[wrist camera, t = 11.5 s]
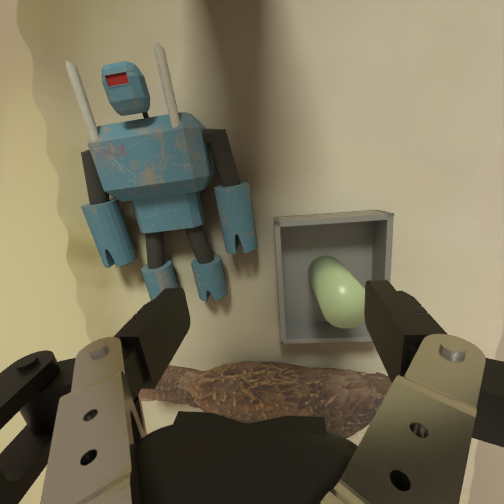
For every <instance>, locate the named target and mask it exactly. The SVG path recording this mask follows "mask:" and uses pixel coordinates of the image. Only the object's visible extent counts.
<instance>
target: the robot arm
mask: <svg viewBox="0 0 504 504" xmlns="http://www.w3.org/2000/svg"><path fill="white" fill-rule="evenodd" d="M364 318H365V324H366V328H367V330H368V332H369V334H370V337H371V339H372V341H373V343H374V345H375V347H376V350H377V352H378V354H379V356H380V358H381V360H382V363H383V365H384V367H385V369H386V371H387V373H388V376H389V378H390V380H391V382H392V385H391V387H390V389H389V390H388V392H387V394H386V396H385V398H384V400H383V401H382V403H381V405H380V407H379V409H378V411H377V412H376V414H375V416H374V418H373V420H372V422H371V423H370V425H369V427H368V429H367V431H366V433H365V434H364V436H363V438H362V440H361V442H360V444H359V446H357V445H356V444H354V443H353V442H351V441H349V440H347V439H346V438H344V437H341V436H339V435H337V434H335V433H332V432H328V431H326V424H325V417H310V416H282V417H277V418H272V419H267V420H262V421H258V422H253V423H243V422H240V421H236V420H233V419H230V418H227V417H224V416H221V415H218V414H215V413H209V412H183V411H178V414H177V416H176V418H175V421H174V423H173V425H169V426H166V427H163V428H160V429H158V430H156V431H153V432H151V433H149V434H148V435H147V432H146V427H145V421H144V416H143V410H142V405H141V400H140V397H139V392H140V391H141V389H155V388H156V386H157V384H158V383H159V381H160V379H161V377H162V376H163V374H164V372H165V370H166V369H167V367H168V365H169V363H170V362H171V360H172V358H173V356H174V355H175V353H176V351H177V349H178V348H179V346H180V344H181V342H182V341H183V339H184V337H185V335H186V334H187V332H188V330H189V327H190V315H189V310H188V306H187V301H186V297H185V293H184V290H183V289H182V288H165V289H164V290H163V291H162V292H161V293H160V294H159V295H158V296H157V297H156V298H155V299H153V300H152V301H150V302H148V303H147V304H145V305H144V306H143V307H142V308H141V309H140V310H139V311H138V312H137V314H135V315H134V316H133V317H132V319H130V320H129V321H128V322H127V323H126V324H125V325H124V327H123V328H122V329H121V330H120V331H119V332H118V333H117V334H116V335H115V336H114V337H107V338H102V339H99V340H97V341H94V342H92V343H90V344H89V345H87V346H86V347H84V348H83V349H82V350H81V351H80V352H79V353H78V354H77V356H76V358H73V359H68V360H64V361H60V362H57V360H56V358H55V356H54V354H53V352H51V351H39V352H35V353H32V354H30V355H27V356H25V357H23V358H21V359H19V360H17V361H16V362H14V363H13V364H11V365H10V366H9V367H7V368H6V369H5V370H4V371H2V372H1V373H0V429H1V428H2V427H3V426H4V425H5V424H6V423H7V422H8V421H9V420H10V419H11V418H12V417H13V416H14V415H15V414H16V413H17V412H18V411H20V412H21V414H22V416H23V418H24V420H25V421H26V423H27V425H26V426H25V428H24V429H23V430H22V431H21V432H20V433H19V434H18V435H17V436H16V437H15V438H14V440H13V441H12V442H11V443H10V444H9V445H8V446H7V447H6V448H5V449H4V450H3V452H2V453H1V454H0V504H18V503H19V502H20V501H21V499H22V498H23V497H24V495H25V494H26V492H27V491H28V490H29V488H30V487H31V486H32V484H33V483H34V481H35V480H36V479H37V477H38V476H39V475H40V473H41V472H42V471H43V469H44V468H45V467H46V465H47V470H46V475H45V481H44V486H43V491H42V497H41V502H40V504H459V500H460V495H461V490H462V485H463V480H464V475H465V469H466V464H467V459H468V454H469V449H470V444H471V438H475V439H478V440H482V441H485V442H488V443H491V444H495V445H498V446H501V447H504V362H502V361H498V360H493V359H488V358H485V355H484V354H483V352H482V351H481V350H480V349H479V348H478V347H477V346H475V345H474V344H472V343H470V342H468V341H466V340H464V339H462V338H459V337H456V336H452V335H448V334H447V333H446V332H445V331H444V330H443V329H442V328H441V327H440V325H439V324H438V323H437V322H436V321H435V320H434V319H433V318H432V317H431V315H430V314H428V313H427V311H426V310H425V309H424V308H423V307H421V304H420V303H419V302H418V301H417V300H416V299H415V298H414V297H413V296H411V295H409V294H407V293H405V292H404V291H396V290H395V289H394V287H393V286H392V285H391V284H390V282H389V281H388V280H367V281H366V284H365V306H364Z"/></svg>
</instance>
